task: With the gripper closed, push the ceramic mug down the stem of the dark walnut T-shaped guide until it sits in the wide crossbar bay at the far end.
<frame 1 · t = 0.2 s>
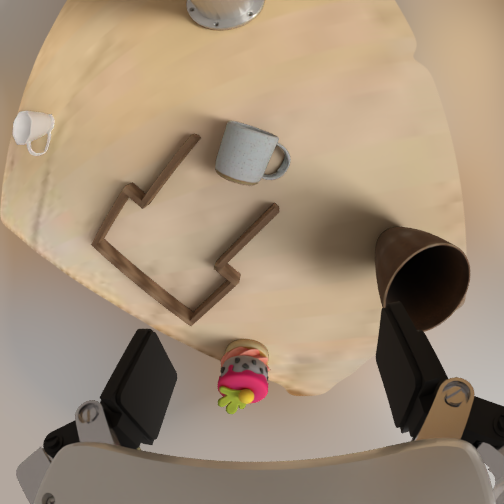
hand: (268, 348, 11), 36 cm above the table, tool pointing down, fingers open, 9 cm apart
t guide: (192, 220, 48), on the table
cup: (49, 129, 41), on the table
cake: (247, 353, 61), on the table
ceramic mug: (256, 151, 42), on the table
plant pot: (392, 244, 47), on the table
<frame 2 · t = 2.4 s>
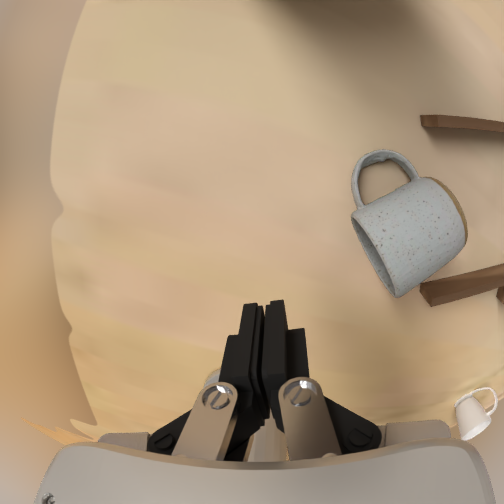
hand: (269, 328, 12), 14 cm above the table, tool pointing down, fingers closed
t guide: (503, 202, 21), on the table
cup: (468, 394, 34), on the table
ceramic mug: (386, 207, 23), on the table
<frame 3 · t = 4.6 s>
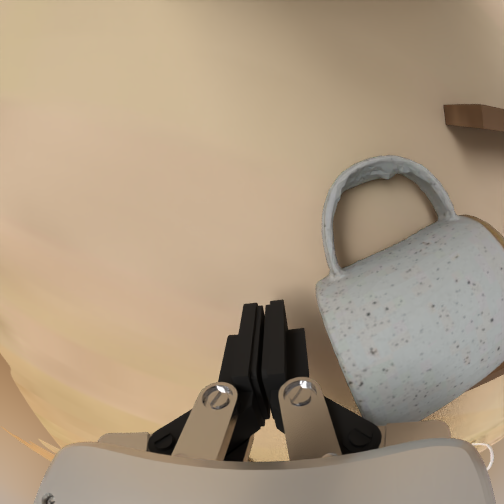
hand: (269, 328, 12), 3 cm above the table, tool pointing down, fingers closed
ceramic mug: (386, 259, 13), on the table, touching gripper
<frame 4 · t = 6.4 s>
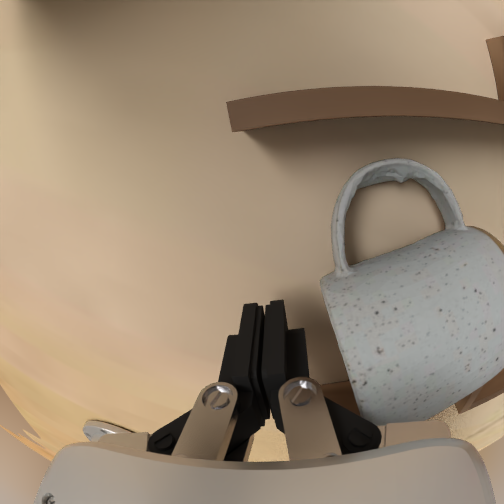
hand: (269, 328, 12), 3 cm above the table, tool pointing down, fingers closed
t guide: (472, 262, 12), on the table
ceramic mug: (388, 263, 13), on the table, touching gripper
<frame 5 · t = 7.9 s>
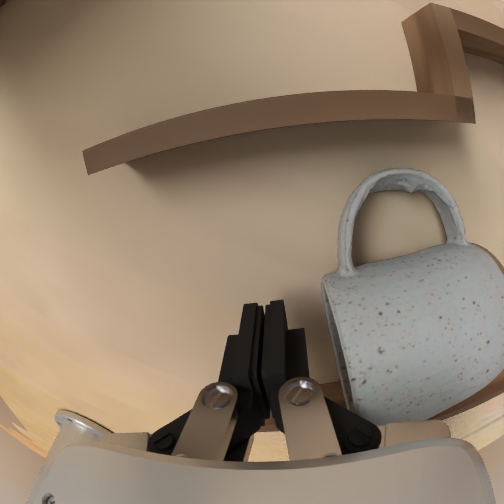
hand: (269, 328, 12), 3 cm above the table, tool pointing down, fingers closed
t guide: (387, 279, 13), on the table
ceramic mug: (387, 270, 13), on the table, touching gripper
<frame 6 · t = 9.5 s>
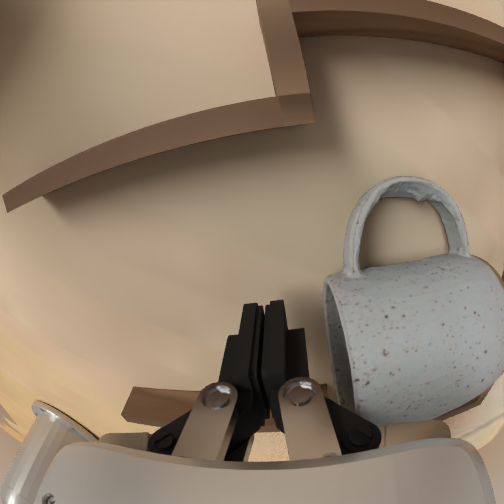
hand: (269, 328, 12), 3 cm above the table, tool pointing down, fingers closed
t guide: (265, 296, 14), on the table
ceramic mug: (387, 276, 13), on the table, touching gripper
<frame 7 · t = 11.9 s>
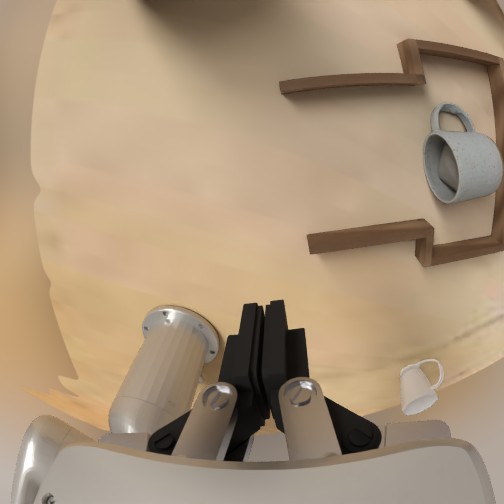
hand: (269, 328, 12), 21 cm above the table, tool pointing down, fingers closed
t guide: (400, 155, 26), on the table
cup: (414, 365, 41), on the table
ceramic mug: (445, 147, 25), on the table
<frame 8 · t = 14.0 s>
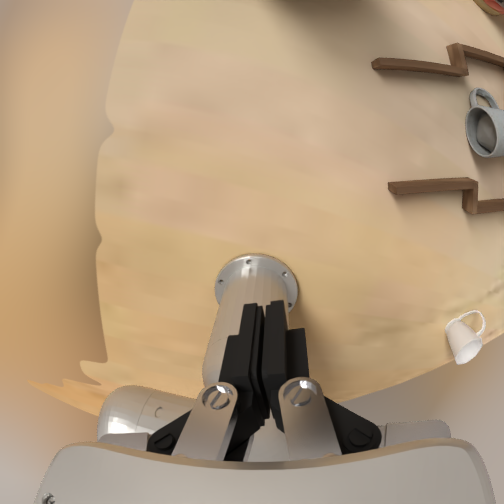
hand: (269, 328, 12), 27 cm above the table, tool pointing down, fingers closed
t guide: (451, 126, 29), on the table
cup: (457, 320, 44), on the table
ceramic mug: (478, 121, 28), on the table
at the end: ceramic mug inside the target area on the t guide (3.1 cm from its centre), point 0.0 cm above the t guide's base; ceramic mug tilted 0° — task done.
